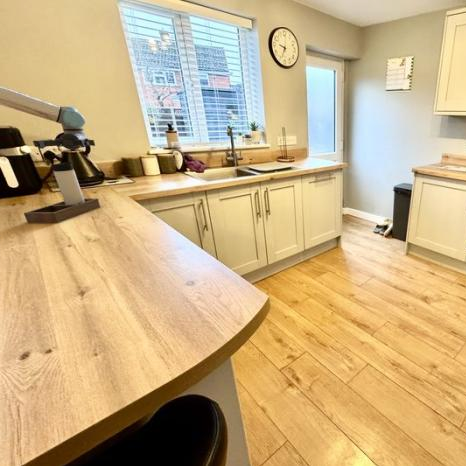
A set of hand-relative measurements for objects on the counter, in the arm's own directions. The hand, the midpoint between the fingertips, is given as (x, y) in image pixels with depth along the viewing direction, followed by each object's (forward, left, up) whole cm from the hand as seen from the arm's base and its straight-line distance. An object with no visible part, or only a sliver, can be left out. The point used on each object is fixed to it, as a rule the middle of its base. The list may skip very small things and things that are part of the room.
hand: (60, 144), depth 122 cm
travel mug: (+5, -8, -26) cm, 28 cm away
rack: (+5, -14, -27) cm, 31 cm away
